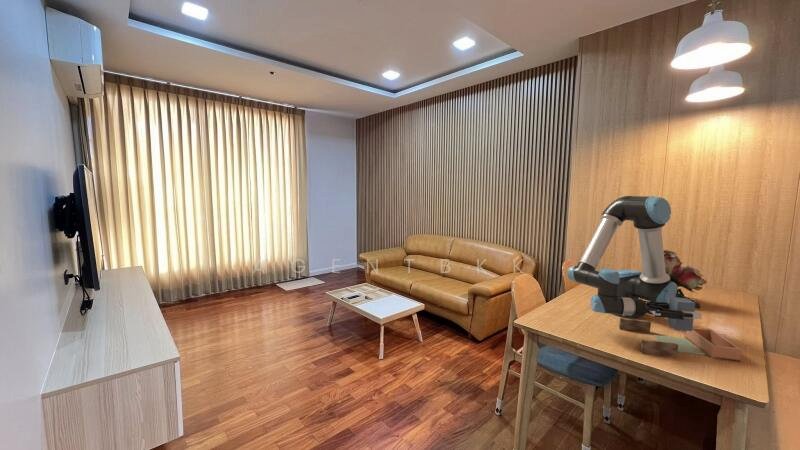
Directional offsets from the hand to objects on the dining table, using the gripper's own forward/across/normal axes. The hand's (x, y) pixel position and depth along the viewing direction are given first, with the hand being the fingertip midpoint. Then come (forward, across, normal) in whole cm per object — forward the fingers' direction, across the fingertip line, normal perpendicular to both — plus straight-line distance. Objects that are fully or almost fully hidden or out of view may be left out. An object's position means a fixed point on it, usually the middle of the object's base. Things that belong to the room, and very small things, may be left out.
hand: (695, 312), depth 135 cm
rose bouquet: (+19, -63, -15) cm, 67 cm away
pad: (-5, 0, -15) cm, 16 cm away
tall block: (-5, 0, -7) cm, 9 cm away
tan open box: (+7, 0, -15) cm, 16 cm away
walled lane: (-17, 0, -15) cm, 23 cm away
